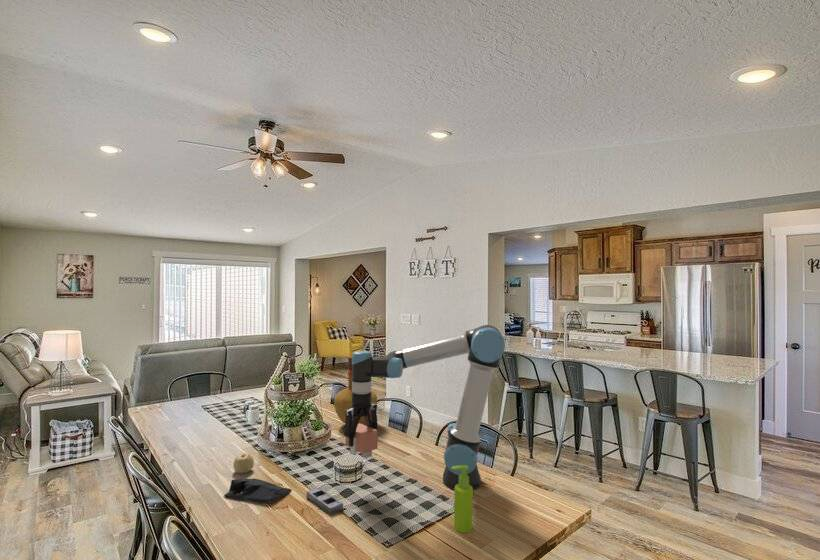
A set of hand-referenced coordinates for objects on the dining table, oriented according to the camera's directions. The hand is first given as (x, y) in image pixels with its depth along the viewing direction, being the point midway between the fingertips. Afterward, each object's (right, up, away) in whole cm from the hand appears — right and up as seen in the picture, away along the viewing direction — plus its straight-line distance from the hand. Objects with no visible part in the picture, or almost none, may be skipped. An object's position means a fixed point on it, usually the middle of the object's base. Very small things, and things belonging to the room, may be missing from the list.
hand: (361, 451), depth 167 cm
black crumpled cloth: (-38, -15, -4) cm, 41 cm away
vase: (-11, -15, +73) cm, 76 cm away
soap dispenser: (+36, -15, -25) cm, 46 cm away
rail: (-12, -14, -11) cm, 22 cm away
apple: (-51, -14, +14) cm, 55 cm away
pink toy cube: (0, -1, 0) cm, 1 cm away
